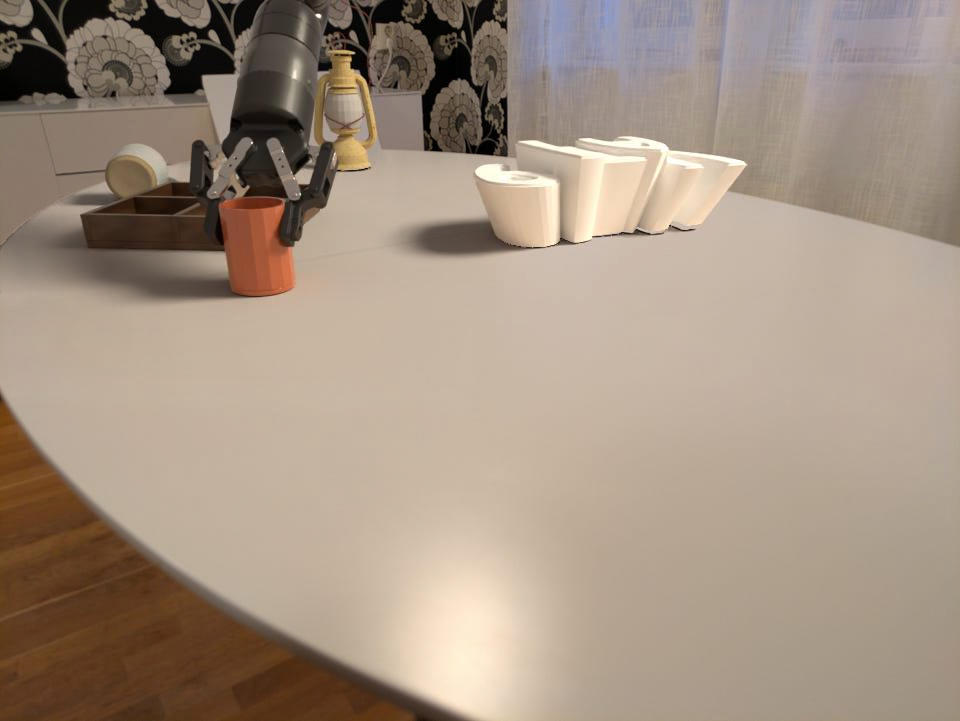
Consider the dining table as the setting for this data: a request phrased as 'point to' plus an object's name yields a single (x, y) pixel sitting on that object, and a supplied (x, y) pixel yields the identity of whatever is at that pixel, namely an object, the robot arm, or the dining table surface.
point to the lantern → (345, 109)
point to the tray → (161, 219)
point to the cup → (256, 246)
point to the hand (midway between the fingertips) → (250, 241)
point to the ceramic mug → (136, 170)
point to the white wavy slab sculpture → (600, 189)
